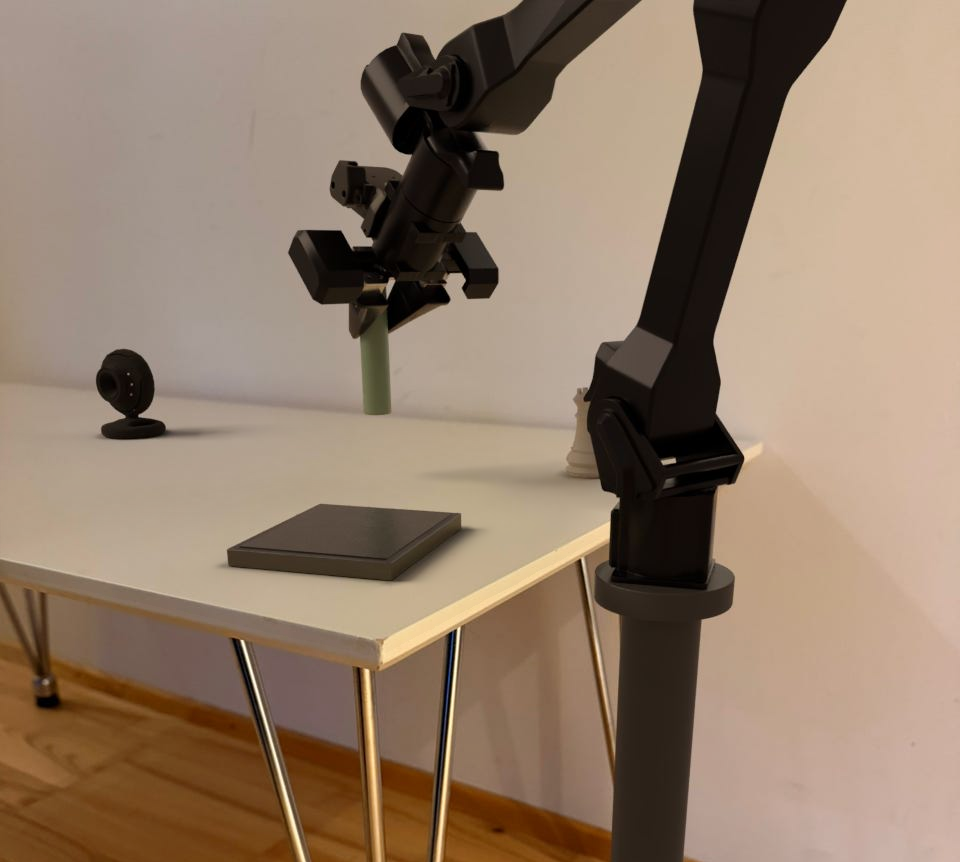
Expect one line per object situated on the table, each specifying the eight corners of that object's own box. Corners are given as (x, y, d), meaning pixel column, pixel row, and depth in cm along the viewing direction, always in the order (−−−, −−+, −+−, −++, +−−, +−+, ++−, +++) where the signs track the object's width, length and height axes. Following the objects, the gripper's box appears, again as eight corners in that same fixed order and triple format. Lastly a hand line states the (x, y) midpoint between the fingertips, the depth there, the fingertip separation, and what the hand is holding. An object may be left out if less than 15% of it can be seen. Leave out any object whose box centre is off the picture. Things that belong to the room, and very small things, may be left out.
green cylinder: (395, 411, 93) (389, 265, 89) (385, 415, 91) (378, 265, 86) (370, 411, 94) (363, 265, 89) (359, 414, 92) (351, 265, 87)
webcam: (87, 436, 118) (74, 350, 115) (135, 427, 124) (124, 345, 121) (132, 441, 115) (120, 352, 111) (180, 432, 121) (170, 347, 117)
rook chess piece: (605, 468, 97) (608, 385, 94) (616, 477, 93) (619, 391, 90) (560, 470, 96) (562, 386, 94) (569, 479, 92) (571, 392, 89)
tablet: (461, 528, 76) (461, 512, 75) (391, 581, 63) (390, 562, 63) (320, 518, 79) (319, 502, 79) (228, 566, 67) (226, 548, 66)
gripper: (478, 133, 87) (410, 267, 99) (289, 116, 76) (239, 270, 88) (537, 226, 84) (460, 353, 96) (349, 223, 73) (289, 367, 85)
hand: (366, 334), depth 91 cm, fingers closed on green cylinder, 2 cm apart
